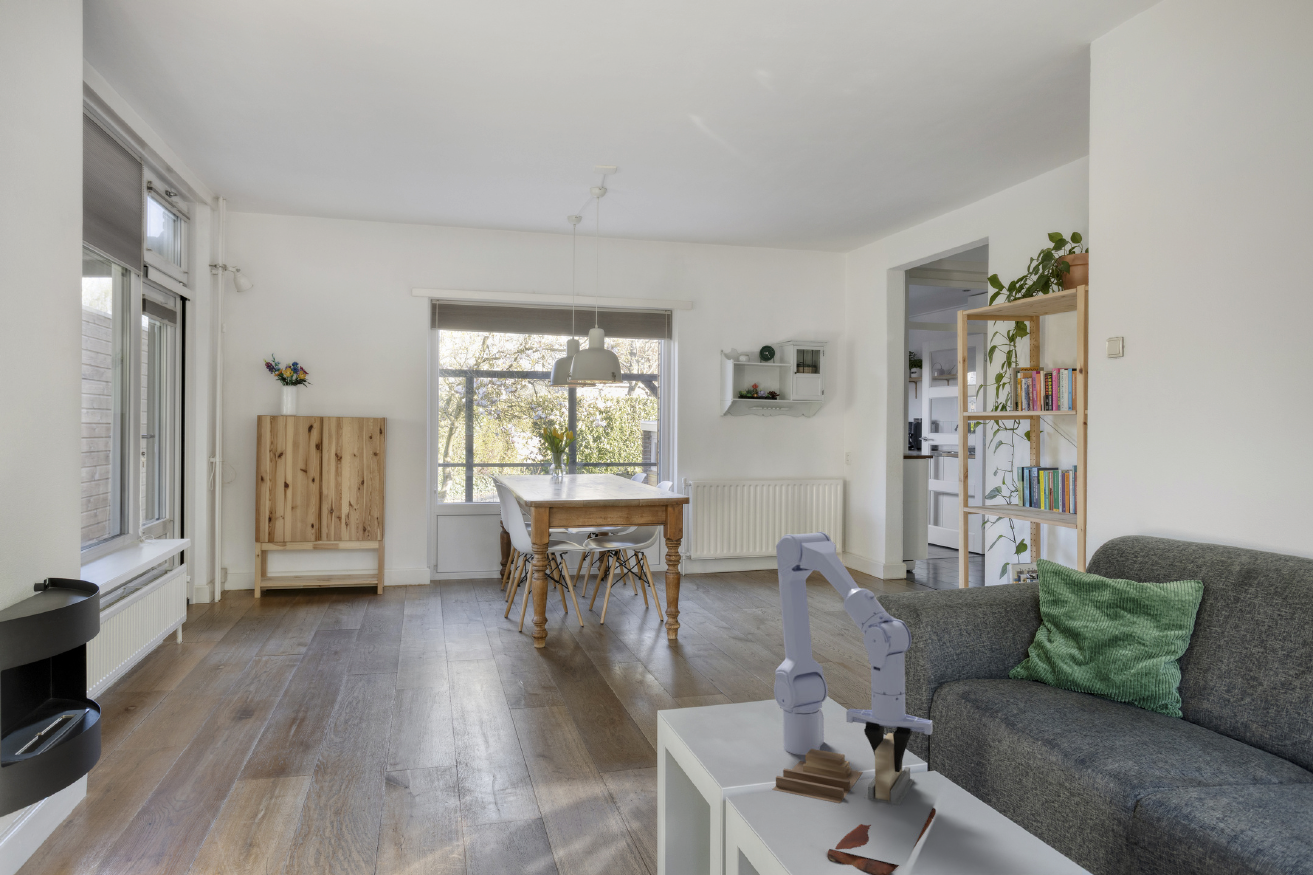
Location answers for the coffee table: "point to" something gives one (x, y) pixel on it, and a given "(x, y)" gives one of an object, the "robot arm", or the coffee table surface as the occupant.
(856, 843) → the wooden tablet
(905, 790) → the grey channel block
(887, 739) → the birch panel
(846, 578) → the robot arm
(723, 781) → the coffee table surface
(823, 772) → the offcut stack
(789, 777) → the walnut rack
